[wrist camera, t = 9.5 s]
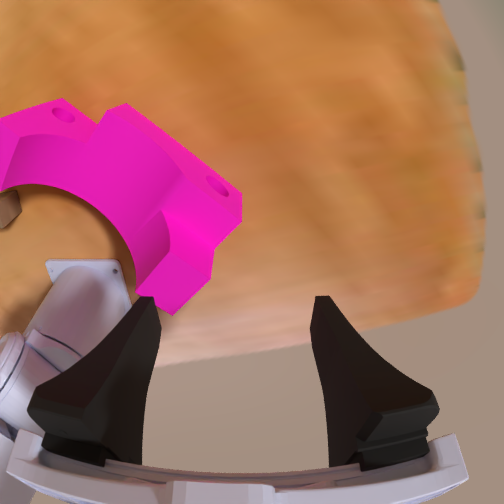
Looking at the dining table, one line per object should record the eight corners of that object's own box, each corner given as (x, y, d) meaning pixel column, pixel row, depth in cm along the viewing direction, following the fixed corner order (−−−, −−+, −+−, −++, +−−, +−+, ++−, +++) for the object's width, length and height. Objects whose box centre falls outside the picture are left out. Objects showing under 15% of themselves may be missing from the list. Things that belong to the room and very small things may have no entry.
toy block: (242, 192, 22) (241, 249, 16) (189, 248, 24) (172, 315, 18) (80, 68, 16) (15, 78, 10) (42, 138, 19) (-20, 173, 12)
